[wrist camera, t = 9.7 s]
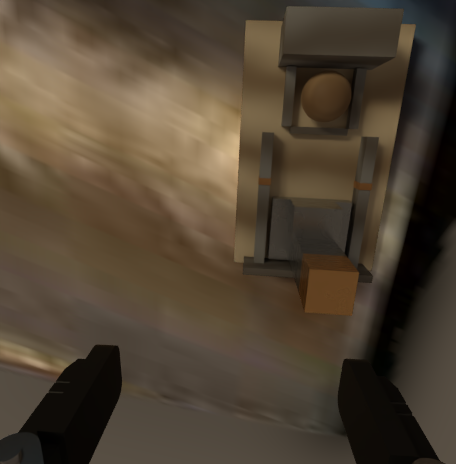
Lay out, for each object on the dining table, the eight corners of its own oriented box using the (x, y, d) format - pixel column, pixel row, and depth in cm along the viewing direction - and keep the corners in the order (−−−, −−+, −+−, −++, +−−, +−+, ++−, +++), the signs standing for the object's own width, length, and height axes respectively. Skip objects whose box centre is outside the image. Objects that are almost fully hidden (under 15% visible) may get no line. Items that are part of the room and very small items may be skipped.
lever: (272, 196, 32) (282, 228, 21) (348, 200, 31) (398, 235, 21) (267, 254, 34) (275, 311, 23) (339, 259, 33) (381, 319, 22)
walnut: (300, 73, 29) (308, 65, 25) (347, 75, 29) (361, 66, 25) (296, 122, 30) (302, 120, 26) (340, 123, 30) (353, 122, 26)
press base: (246, 27, 30) (244, -3, 23) (405, 31, 29) (450, 1, 22) (234, 255, 36) (231, 282, 30) (364, 263, 36) (391, 293, 29)
